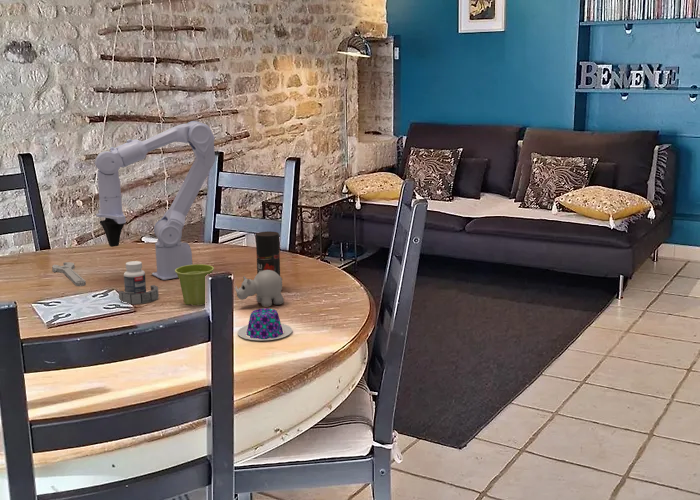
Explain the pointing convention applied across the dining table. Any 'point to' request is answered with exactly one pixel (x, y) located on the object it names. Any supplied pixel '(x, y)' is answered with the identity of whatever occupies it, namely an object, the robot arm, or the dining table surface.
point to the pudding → (264, 326)
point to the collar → (140, 296)
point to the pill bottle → (134, 278)
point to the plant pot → (193, 282)
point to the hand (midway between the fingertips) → (114, 245)
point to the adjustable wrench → (69, 273)
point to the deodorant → (268, 251)
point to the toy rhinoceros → (262, 288)
